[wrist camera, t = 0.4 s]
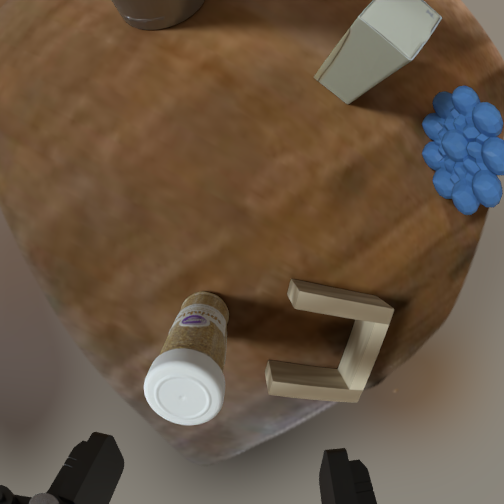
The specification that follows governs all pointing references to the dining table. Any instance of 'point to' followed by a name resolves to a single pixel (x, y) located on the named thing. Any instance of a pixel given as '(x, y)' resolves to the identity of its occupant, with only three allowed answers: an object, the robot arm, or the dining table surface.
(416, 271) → the dining table surface
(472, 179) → the blue bumpy cluster
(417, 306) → the dining table surface
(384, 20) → the skincare box
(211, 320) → the spice jar
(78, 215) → the dining table surface
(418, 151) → the dining table surface
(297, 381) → the pocket
